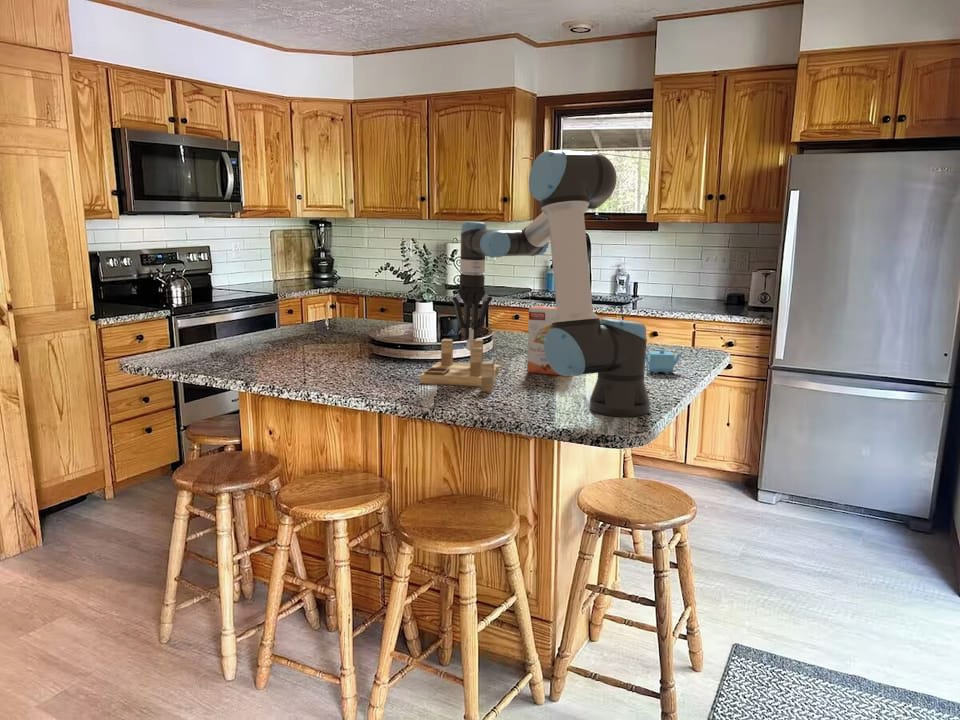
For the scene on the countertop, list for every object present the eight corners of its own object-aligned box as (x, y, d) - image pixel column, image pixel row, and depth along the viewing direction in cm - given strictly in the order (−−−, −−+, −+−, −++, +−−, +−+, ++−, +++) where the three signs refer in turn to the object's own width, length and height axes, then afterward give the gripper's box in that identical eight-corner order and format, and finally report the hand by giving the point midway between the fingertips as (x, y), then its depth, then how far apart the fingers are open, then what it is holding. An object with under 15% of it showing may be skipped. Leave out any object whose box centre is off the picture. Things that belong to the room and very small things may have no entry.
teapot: (682, 371, 229) (683, 348, 228) (683, 375, 224) (685, 352, 222) (643, 370, 232) (645, 347, 230) (644, 374, 226) (645, 350, 224)
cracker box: (526, 373, 226) (528, 307, 222) (532, 369, 231) (533, 305, 227) (569, 377, 221) (571, 309, 216) (574, 373, 226) (576, 307, 222)
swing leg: (484, 371, 214) (484, 345, 212) (474, 371, 214) (474, 345, 212) (482, 364, 224) (482, 339, 223) (472, 364, 224) (472, 339, 223)
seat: (486, 386, 207) (487, 351, 205) (420, 383, 211) (420, 348, 209) (499, 372, 226) (499, 339, 224) (438, 369, 230) (438, 337, 228)
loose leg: (491, 391, 201) (492, 363, 200) (481, 390, 202) (481, 363, 200) (493, 389, 204) (494, 361, 202) (483, 388, 205) (483, 361, 203)
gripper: (455, 274, 211) (453, 352, 216) (496, 274, 215) (493, 351, 220) (448, 272, 218) (446, 347, 223) (488, 272, 222) (485, 346, 227)
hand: (469, 349), depth 222 cm, fingers closed
